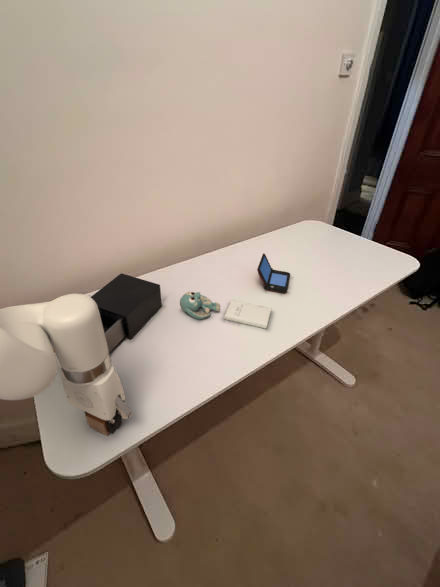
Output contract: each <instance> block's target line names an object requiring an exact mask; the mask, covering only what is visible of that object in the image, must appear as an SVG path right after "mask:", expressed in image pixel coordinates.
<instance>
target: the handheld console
mask: <svg viewBox="0 0 440 587" xmlns="http://www.w3.org/2000/svg"><path fill="white" fill-rule="evenodd" d="M261 255H262V256H261V258H260V261H259V264H258V265H257V273H258V276H259V277H260V279H261V281H262V283H263V286H264V288H263V289H264V291H270V292H275V293H280V294H286V293H288V290H289V284H290V278H291V273H290V272H289V271H283V270H276V269H274V268H273V267H272V266H271V264H270V262H269V259H268V257H267V255H266V253H264V252H263V253H262V254H261Z"/></svg>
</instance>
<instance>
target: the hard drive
mask: <svg viewBox="0 0 440 587" xmlns="http://www.w3.org/2000/svg"><path fill="white" fill-rule="evenodd" d="M271 313H272V308H271V307H267V306H262V305H257V304H252V303H247V302H242V301H238V300H230V303H229V305H228V306H227V310H226V312H225V314H224V320H225V321H227V320H228V321H230V322H235V323H240V324H244V325H248V326H252V327H257V328H261V329H265V330H266V329H267V328H268V324H269V320H270V316H271Z"/></svg>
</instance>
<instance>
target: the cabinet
mask: <svg viewBox="0 0 440 587" xmlns="http://www.w3.org/2000/svg"><path fill="white" fill-rule="evenodd" d="M161 290H162V289H161V284H159V283H155V282H153V281H149V280H147V279H142V278H139V277H135V276H132V275H128V274H125V273H122V272H120V273H119V274H118V275H116V277H114V278H113V279H112V280H110V281H109V282H108V283H106V284H105V285H104V286H102V287H101V288H100V289H98V291H96V292H95V293H94V294H92V295H91V296H90V297H91V298H92V299H93V300H94V301H95V302H96V304H97V306H98V309H99V310H102V311H105V312H108V313H111V314H114V315H117V316H119V317H122V318H125V323H126V328H127V333H128V334H127V335H126V336H125V337H124V339H128V340H132V339H133V338H134V337H136V335H137V334H138V333H139V332H140V331H141V330H142V329H143V327H145V325H147V324H148V322H149V321H150V320H152V318H153V317H154V316H155V315H156V314H157V312H158V311H160V310H161V308H162V307H163V300H162V294H161V293H162V292H161Z"/></svg>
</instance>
